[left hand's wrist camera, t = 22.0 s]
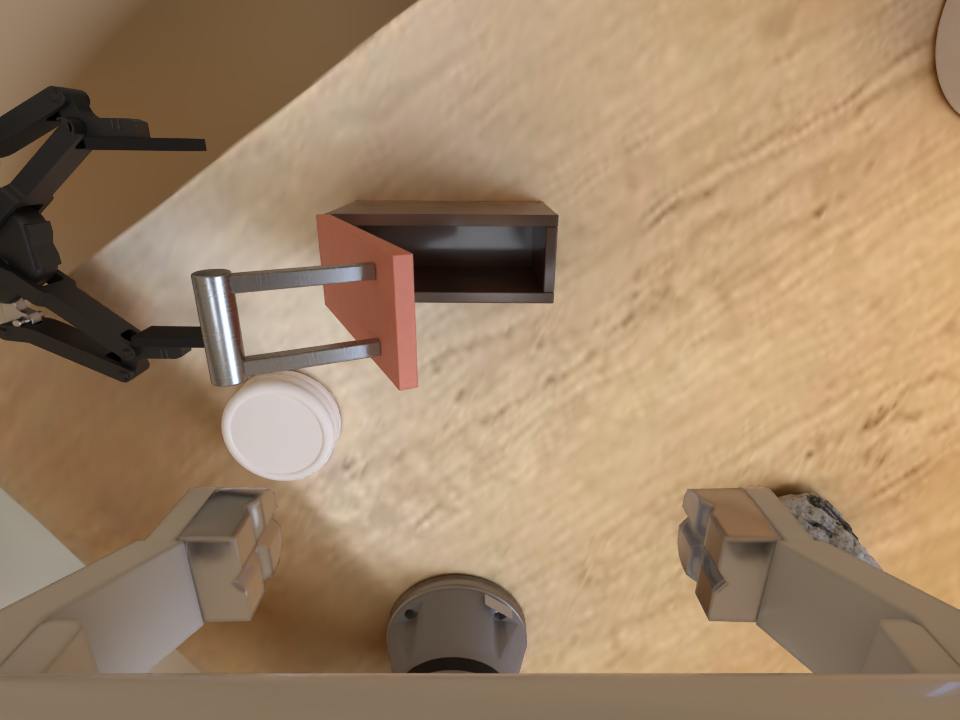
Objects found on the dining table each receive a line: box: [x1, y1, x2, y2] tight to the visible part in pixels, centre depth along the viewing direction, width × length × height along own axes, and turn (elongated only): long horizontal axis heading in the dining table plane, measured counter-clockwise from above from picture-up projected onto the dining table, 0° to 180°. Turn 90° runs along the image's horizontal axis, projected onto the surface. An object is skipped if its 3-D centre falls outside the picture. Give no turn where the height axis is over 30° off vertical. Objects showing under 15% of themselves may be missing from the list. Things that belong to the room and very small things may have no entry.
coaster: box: [221, 370, 341, 481], centre depth 49 cm, size 10×10×4 cm
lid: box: [191, 214, 418, 390], centre depth 27 cm, size 16×6×8 cm
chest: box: [326, 201, 558, 303], centre depth 40 cm, size 15×6×10 cm, turn 90°
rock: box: [778, 492, 883, 571], centre depth 53 cm, size 15×10×7 cm
